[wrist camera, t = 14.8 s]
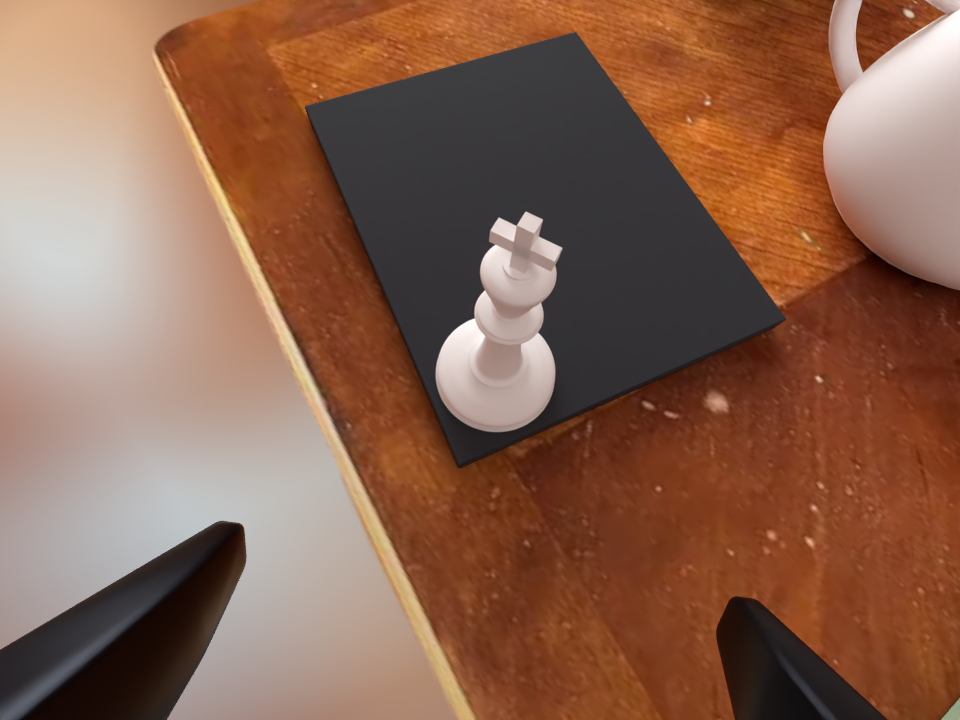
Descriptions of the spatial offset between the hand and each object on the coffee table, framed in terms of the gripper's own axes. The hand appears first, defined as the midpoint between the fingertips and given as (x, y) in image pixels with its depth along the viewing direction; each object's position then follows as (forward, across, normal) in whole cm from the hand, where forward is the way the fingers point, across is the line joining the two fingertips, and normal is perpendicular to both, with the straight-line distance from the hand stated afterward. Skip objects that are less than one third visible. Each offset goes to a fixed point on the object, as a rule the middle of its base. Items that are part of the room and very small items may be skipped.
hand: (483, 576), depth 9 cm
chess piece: (+12, 0, +1) cm, 12 cm away
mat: (+19, 0, -4) cm, 19 cm away
